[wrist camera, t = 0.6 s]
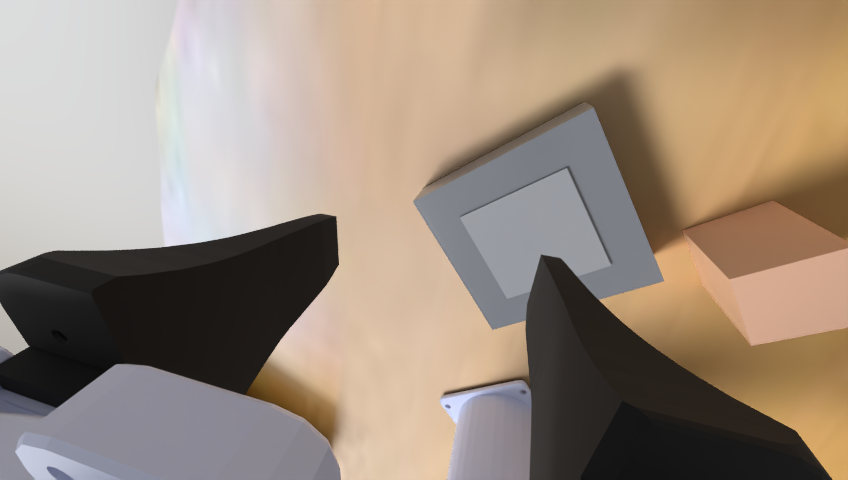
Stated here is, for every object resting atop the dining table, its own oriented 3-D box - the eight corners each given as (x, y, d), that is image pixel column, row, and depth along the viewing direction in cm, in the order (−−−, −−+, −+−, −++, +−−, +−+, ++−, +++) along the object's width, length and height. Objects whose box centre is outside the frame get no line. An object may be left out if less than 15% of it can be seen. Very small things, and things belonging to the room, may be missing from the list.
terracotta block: (788, 262, 18) (870, 323, 14) (702, 285, 20) (751, 346, 16) (772, 200, 17) (855, 246, 13) (682, 230, 19) (729, 279, 15)
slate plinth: (648, 257, 20) (665, 282, 18) (495, 306, 24) (492, 331, 22) (584, 101, 17) (594, 107, 15) (423, 187, 21) (412, 202, 19)
